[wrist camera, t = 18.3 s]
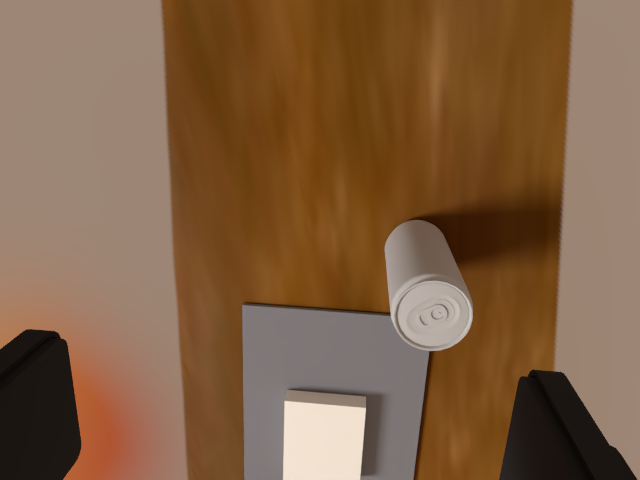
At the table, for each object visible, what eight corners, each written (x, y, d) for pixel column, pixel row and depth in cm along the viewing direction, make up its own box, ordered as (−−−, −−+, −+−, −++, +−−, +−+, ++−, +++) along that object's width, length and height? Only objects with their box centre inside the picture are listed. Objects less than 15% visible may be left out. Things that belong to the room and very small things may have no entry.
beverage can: (455, 258, 41) (489, 332, 30) (401, 284, 42) (413, 365, 31) (428, 206, 40) (453, 264, 29) (373, 234, 41) (376, 300, 30)
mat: (243, 302, 44) (242, 305, 44) (432, 317, 43) (433, 319, 42) (245, 486, 51) (244, 489, 50) (409, 503, 49) (409, 506, 49)
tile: (284, 400, 44) (282, 483, 47) (366, 407, 44) (359, 490, 47) (287, 388, 46) (285, 469, 49) (366, 395, 45) (359, 476, 48)
